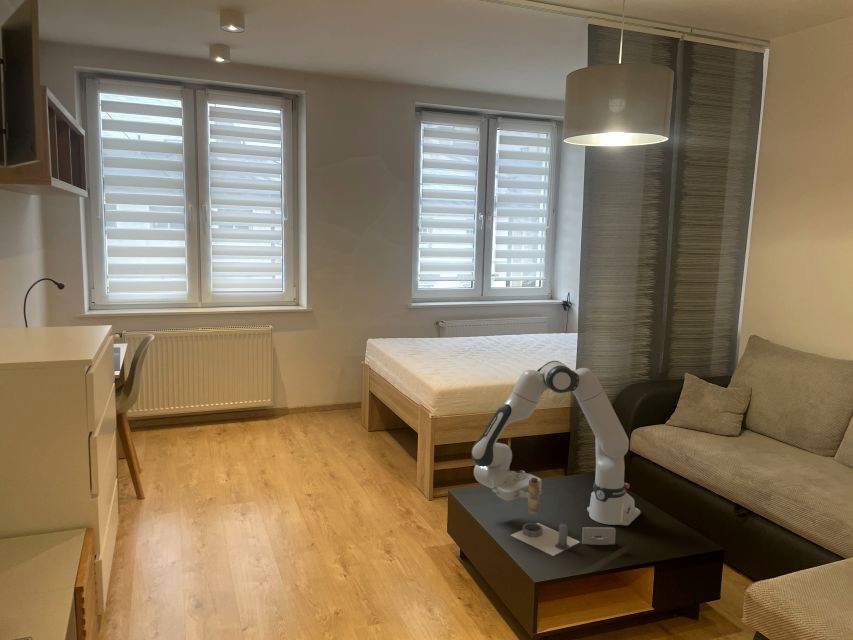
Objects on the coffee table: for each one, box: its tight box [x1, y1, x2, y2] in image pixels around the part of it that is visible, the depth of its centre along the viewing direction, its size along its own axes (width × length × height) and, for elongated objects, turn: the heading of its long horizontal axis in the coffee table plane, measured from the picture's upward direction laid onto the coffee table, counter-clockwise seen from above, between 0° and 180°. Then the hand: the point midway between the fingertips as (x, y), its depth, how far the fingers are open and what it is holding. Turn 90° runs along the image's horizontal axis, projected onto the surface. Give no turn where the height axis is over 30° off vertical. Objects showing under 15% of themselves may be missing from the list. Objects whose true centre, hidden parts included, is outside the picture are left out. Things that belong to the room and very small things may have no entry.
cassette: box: [581, 526, 617, 546], centre depth 236 cm, size 12×2×8 cm, turn 90°
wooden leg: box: [527, 478, 540, 515], centre depth 242 cm, size 4×4×13 cm
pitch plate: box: [510, 522, 581, 557], centre depth 239 cm, size 16×20×10 cm
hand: (535, 494), depth 241 cm, fingers closed on wooden leg, 4 cm apart
